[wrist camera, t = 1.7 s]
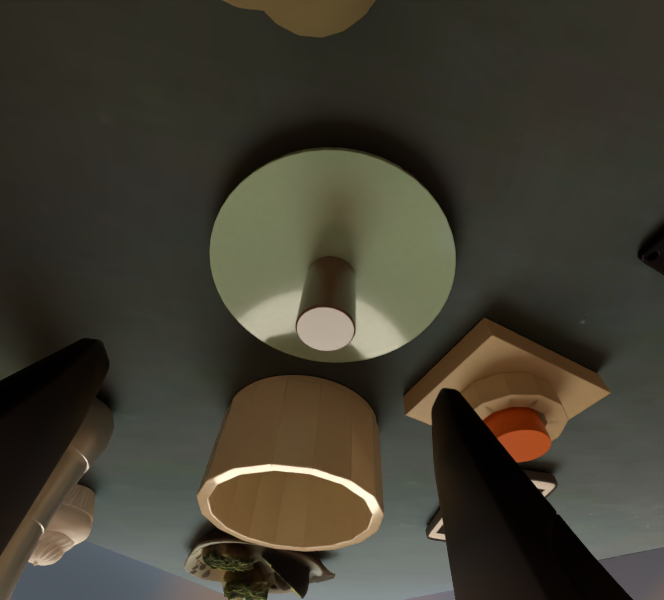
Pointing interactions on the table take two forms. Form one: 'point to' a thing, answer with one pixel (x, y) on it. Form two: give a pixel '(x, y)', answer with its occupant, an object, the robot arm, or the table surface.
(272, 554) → the salad plate
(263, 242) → the lid
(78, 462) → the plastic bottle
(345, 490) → the pot
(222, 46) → the table surface
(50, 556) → the muffin
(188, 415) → the table surface
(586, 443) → the table surface
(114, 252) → the table surface
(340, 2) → the cork
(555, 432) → the control block
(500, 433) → the button
